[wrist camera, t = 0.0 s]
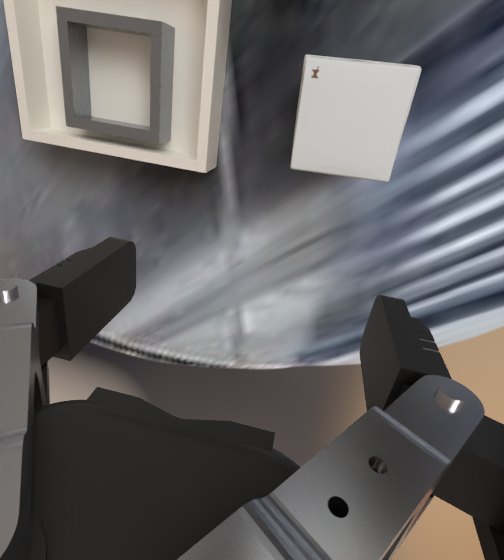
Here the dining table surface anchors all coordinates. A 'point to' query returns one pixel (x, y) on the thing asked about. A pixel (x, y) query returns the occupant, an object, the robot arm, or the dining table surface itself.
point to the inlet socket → (78, 81)
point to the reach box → (125, 77)
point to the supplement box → (351, 116)
